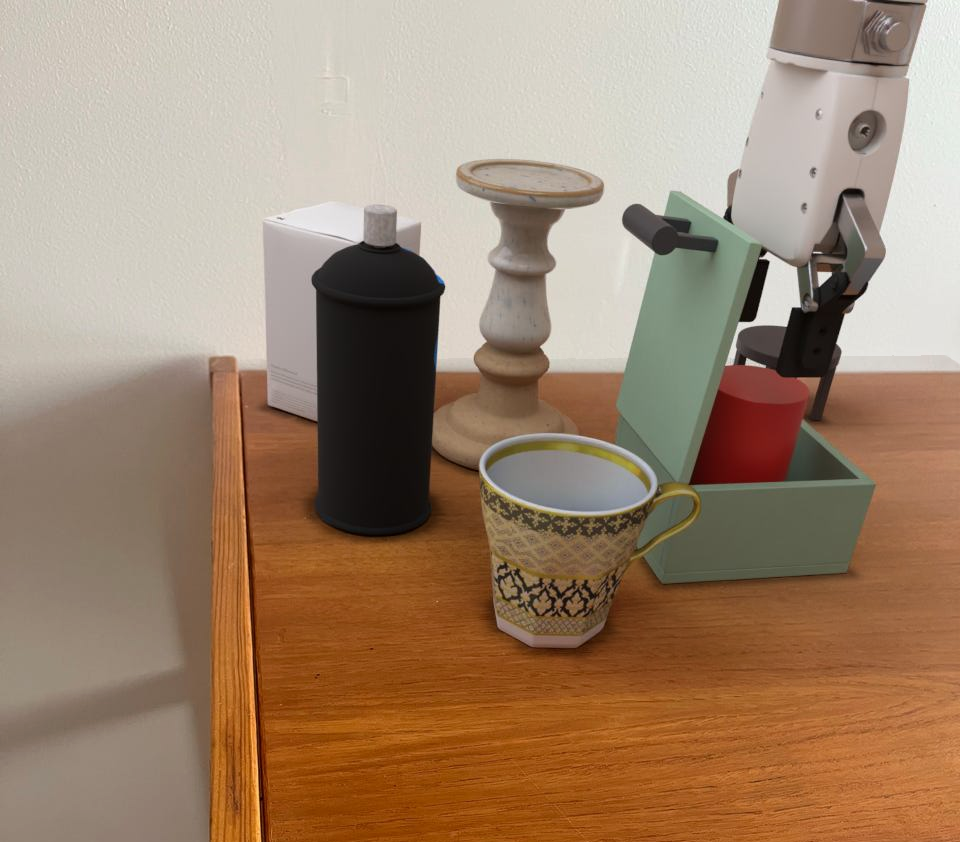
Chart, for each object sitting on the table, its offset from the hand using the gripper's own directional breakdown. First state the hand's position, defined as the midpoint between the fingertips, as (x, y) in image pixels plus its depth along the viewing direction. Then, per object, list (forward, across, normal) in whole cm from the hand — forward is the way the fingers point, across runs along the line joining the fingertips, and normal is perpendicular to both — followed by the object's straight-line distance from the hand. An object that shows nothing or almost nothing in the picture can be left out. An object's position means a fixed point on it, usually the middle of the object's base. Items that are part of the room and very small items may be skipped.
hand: (764, 346), depth 65 cm
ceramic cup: (+14, -9, +14) cm, 22 cm away
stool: (+14, +22, -15) cm, 30 cm away
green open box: (+14, 0, 0) cm, 14 cm away
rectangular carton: (+14, +24, +24) cm, 37 cm away
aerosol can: (+14, +6, +24) cm, 28 cm away
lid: (-1, 0, +6) cm, 6 cm away
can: (+13, 0, 0) cm, 13 cm away
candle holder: (+14, +16, +12) cm, 24 cm away
